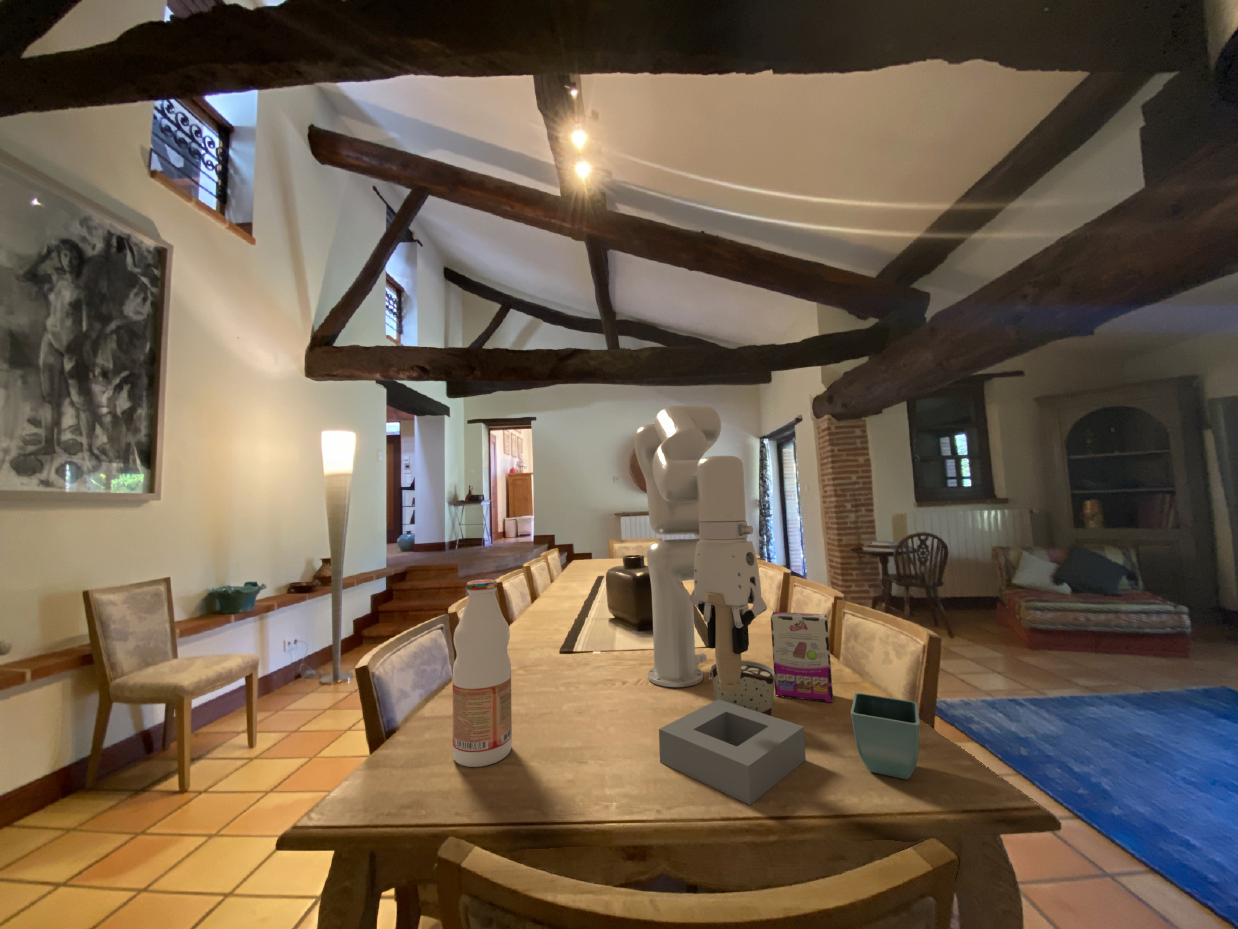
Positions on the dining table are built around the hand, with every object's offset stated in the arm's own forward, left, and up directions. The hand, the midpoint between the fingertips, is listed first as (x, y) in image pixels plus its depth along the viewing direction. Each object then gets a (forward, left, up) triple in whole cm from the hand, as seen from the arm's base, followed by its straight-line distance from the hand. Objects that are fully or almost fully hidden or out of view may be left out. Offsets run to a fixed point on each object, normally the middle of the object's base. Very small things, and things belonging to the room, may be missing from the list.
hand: (728, 648), depth 78 cm
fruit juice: (+26, -31, -17) cm, 44 cm away
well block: (0, 0, -17) cm, 17 cm away
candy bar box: (-32, -4, -17) cm, 37 cm away
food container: (-14, -6, -17) cm, 23 cm away
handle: (0, 0, -6) cm, 6 cm away
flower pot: (-14, +18, -17) cm, 29 cm away
